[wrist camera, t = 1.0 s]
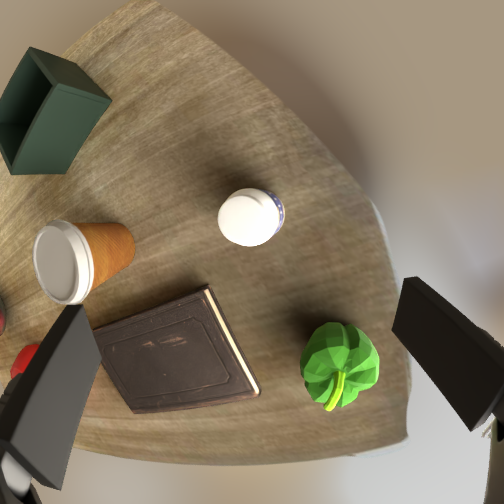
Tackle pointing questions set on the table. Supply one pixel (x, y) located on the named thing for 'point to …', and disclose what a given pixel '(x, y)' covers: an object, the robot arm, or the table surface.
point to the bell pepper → (338, 364)
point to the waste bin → (47, 114)
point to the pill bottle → (251, 216)
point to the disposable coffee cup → (79, 257)
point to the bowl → (2, 317)
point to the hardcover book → (176, 356)
